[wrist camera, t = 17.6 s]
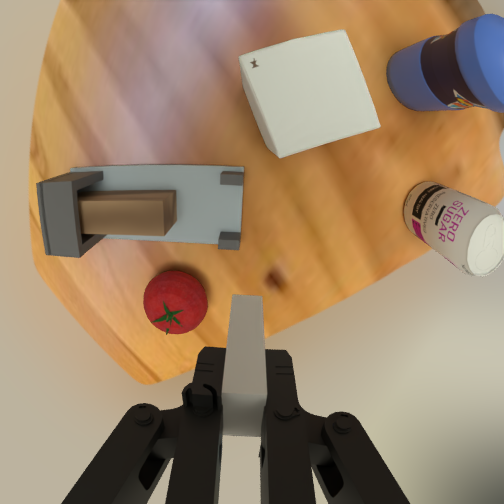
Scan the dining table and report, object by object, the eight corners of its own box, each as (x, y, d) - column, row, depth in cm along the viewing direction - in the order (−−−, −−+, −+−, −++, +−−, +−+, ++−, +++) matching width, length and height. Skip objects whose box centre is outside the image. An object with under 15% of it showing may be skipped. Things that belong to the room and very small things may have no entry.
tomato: (187, 324, 45) (177, 358, 38) (141, 290, 43) (122, 320, 36) (223, 288, 43) (217, 320, 35) (173, 249, 40) (157, 275, 33)
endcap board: (74, 167, 36) (36, 179, 28) (244, 166, 36) (241, 176, 28) (79, 234, 40) (46, 258, 31) (240, 242, 40) (236, 272, 32)
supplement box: (266, 151, 36) (275, 162, 22) (241, 85, 32) (233, 54, 19) (335, 129, 34) (384, 129, 21) (311, 64, 31) (345, 26, 17)
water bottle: (378, 47, 30) (507, -15, 7) (433, 51, 29) (566, 19, 6) (392, 113, 33) (542, 115, 10) (446, 112, 32) (589, 124, 9)
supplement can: (444, 232, 39) (505, 275, 25) (400, 237, 40) (456, 286, 26) (447, 180, 36) (517, 207, 22) (401, 181, 37) (467, 210, 23)
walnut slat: (81, 191, 36) (58, 202, 31) (176, 189, 36) (163, 200, 31) (84, 219, 38) (62, 233, 32) (176, 220, 38) (164, 236, 32)
